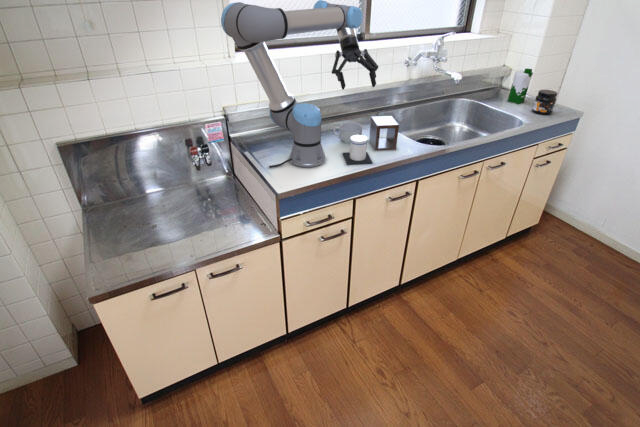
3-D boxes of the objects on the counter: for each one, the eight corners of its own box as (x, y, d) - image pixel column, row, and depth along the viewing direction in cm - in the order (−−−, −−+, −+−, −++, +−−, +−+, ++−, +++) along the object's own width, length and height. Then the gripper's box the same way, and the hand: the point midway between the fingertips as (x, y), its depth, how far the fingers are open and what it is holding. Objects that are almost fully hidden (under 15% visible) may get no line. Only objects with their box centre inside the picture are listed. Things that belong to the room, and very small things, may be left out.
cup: (351, 161, 166) (352, 141, 161) (348, 154, 172) (349, 135, 167) (367, 160, 167) (369, 141, 162) (363, 153, 173) (365, 134, 168)
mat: (347, 165, 165) (347, 163, 164) (342, 154, 174) (342, 152, 173) (372, 163, 166) (372, 162, 165) (366, 153, 175) (366, 151, 174)
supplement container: (528, 112, 225) (534, 91, 218) (536, 108, 231) (542, 88, 224) (547, 116, 218) (554, 95, 211) (554, 112, 224) (561, 92, 217)
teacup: (361, 137, 190) (362, 122, 186) (361, 146, 181) (362, 130, 177) (333, 136, 191) (333, 120, 187) (331, 145, 182) (332, 129, 178)
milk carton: (519, 104, 236) (529, 71, 225) (505, 101, 242) (514, 68, 231) (526, 102, 241) (536, 68, 230) (512, 98, 247) (521, 66, 236)
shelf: (374, 150, 177) (377, 125, 171) (369, 140, 187) (371, 116, 181) (395, 149, 178) (399, 124, 172) (389, 139, 188) (391, 115, 182)
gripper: (372, 45, 169) (383, 89, 166) (318, 48, 163) (328, 93, 160) (378, 34, 162) (390, 79, 159) (322, 36, 156) (332, 83, 152)
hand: (359, 86), depth 159 cm, fingers open, 13 cm apart
